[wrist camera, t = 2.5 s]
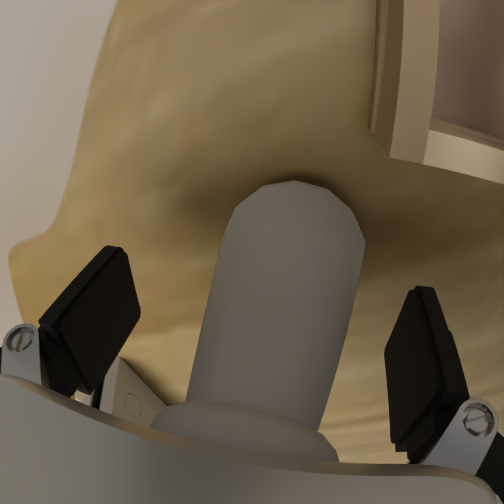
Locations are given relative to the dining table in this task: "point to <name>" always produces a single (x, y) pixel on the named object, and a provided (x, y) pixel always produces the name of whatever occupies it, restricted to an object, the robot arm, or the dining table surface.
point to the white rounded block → (125, 395)
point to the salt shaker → (273, 325)
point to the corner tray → (441, 84)
